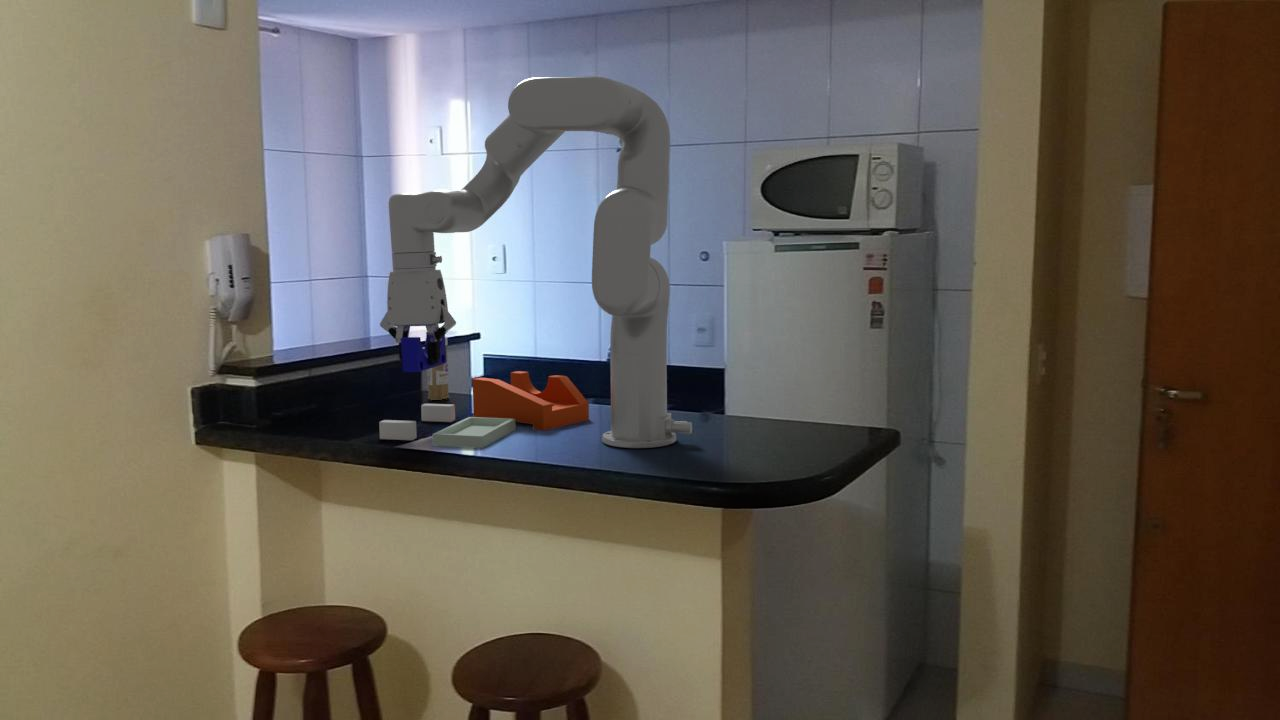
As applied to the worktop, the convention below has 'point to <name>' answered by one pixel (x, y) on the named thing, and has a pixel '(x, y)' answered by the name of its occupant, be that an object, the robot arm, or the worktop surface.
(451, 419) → the white rectangular blocks
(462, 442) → the tray
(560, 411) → the tape dispenser
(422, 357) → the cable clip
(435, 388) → the sprinkles bottle
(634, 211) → the robot arm
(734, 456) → the worktop surface
